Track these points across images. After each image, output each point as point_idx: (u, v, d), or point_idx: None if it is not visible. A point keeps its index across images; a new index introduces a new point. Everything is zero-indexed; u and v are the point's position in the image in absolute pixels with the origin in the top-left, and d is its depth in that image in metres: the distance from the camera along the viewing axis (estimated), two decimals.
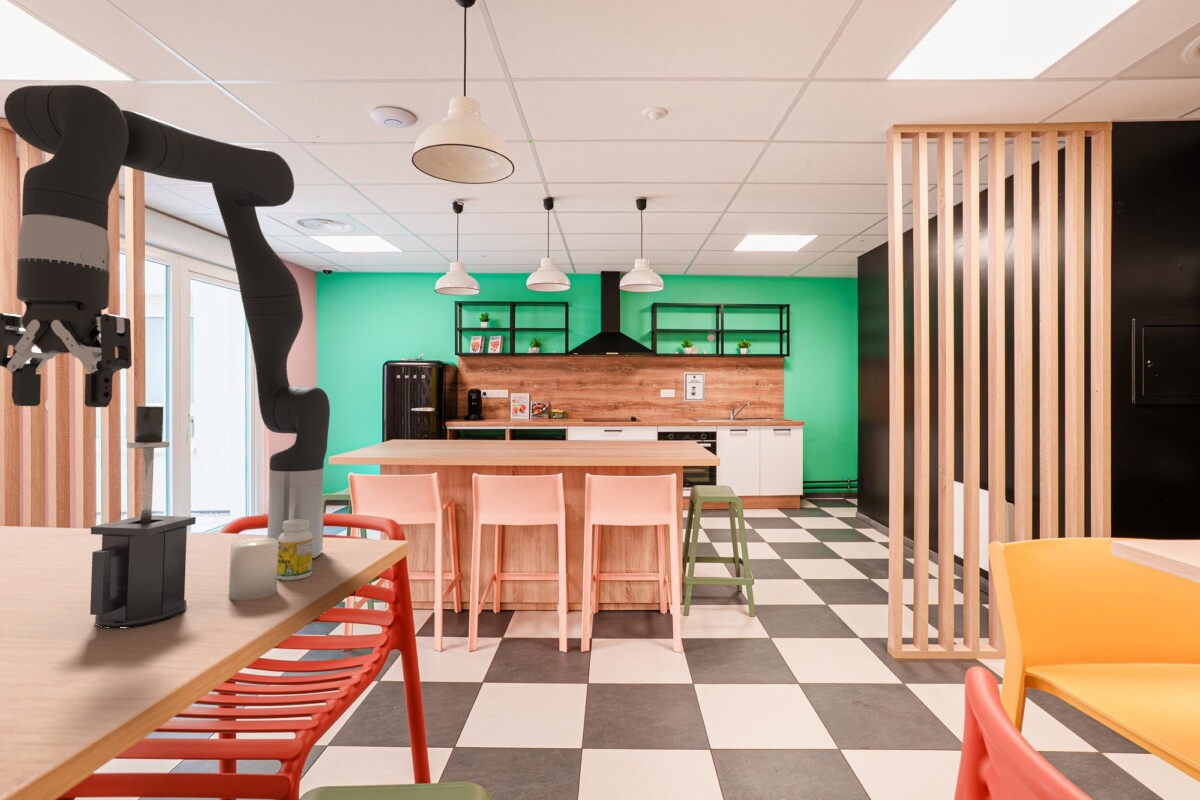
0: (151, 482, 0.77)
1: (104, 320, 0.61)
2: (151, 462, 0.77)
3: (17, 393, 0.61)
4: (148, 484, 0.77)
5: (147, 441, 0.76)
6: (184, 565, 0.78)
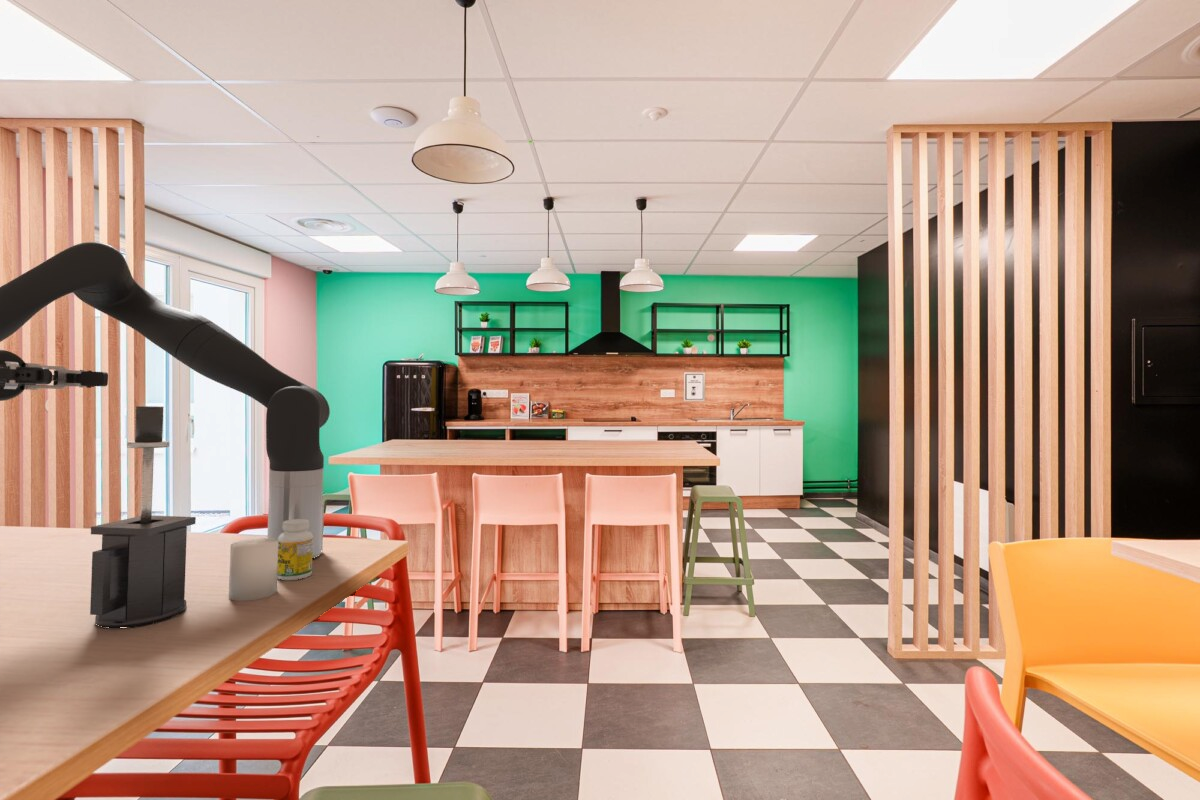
0: (151, 482, 0.77)
1: None
2: (151, 462, 0.77)
3: (96, 385, 0.84)
4: (148, 484, 0.77)
5: (147, 441, 0.76)
6: (184, 565, 0.78)
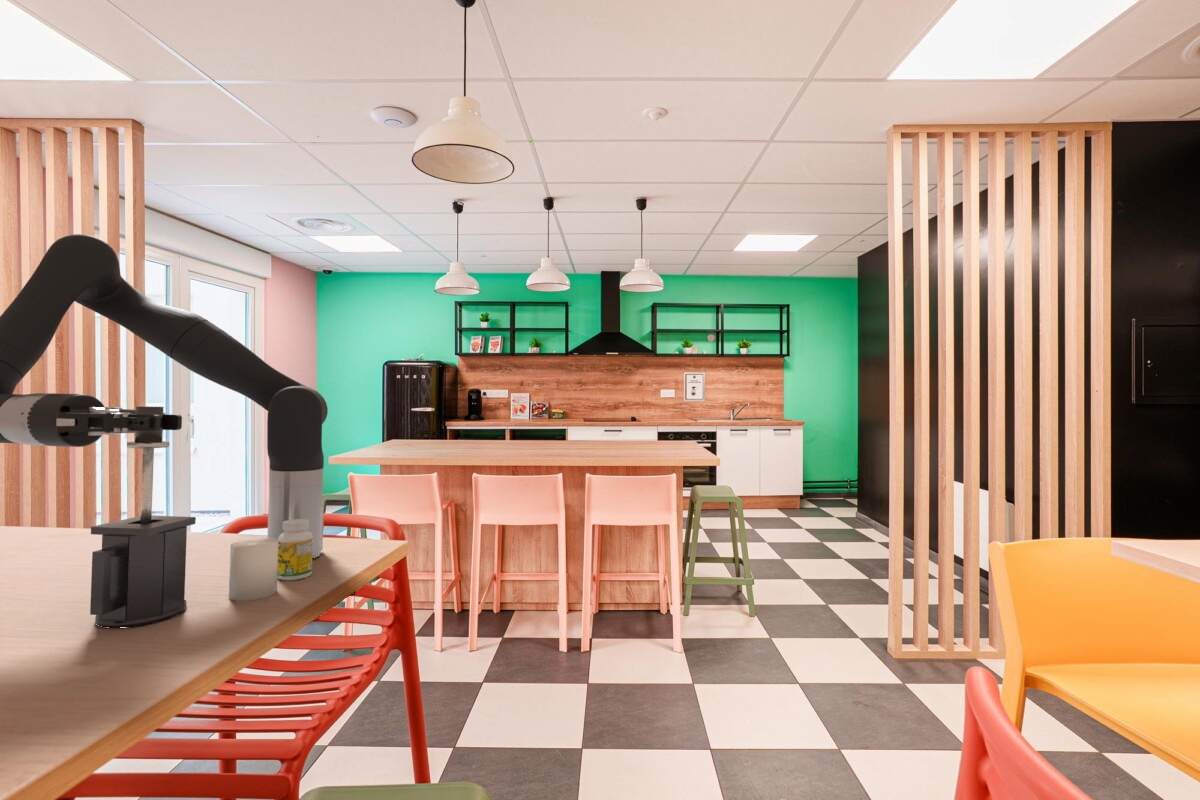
0: (151, 482, 0.77)
1: (63, 432, 0.72)
2: (151, 462, 0.77)
3: (169, 429, 0.79)
4: (148, 484, 0.77)
5: (147, 441, 0.76)
6: (184, 565, 0.78)
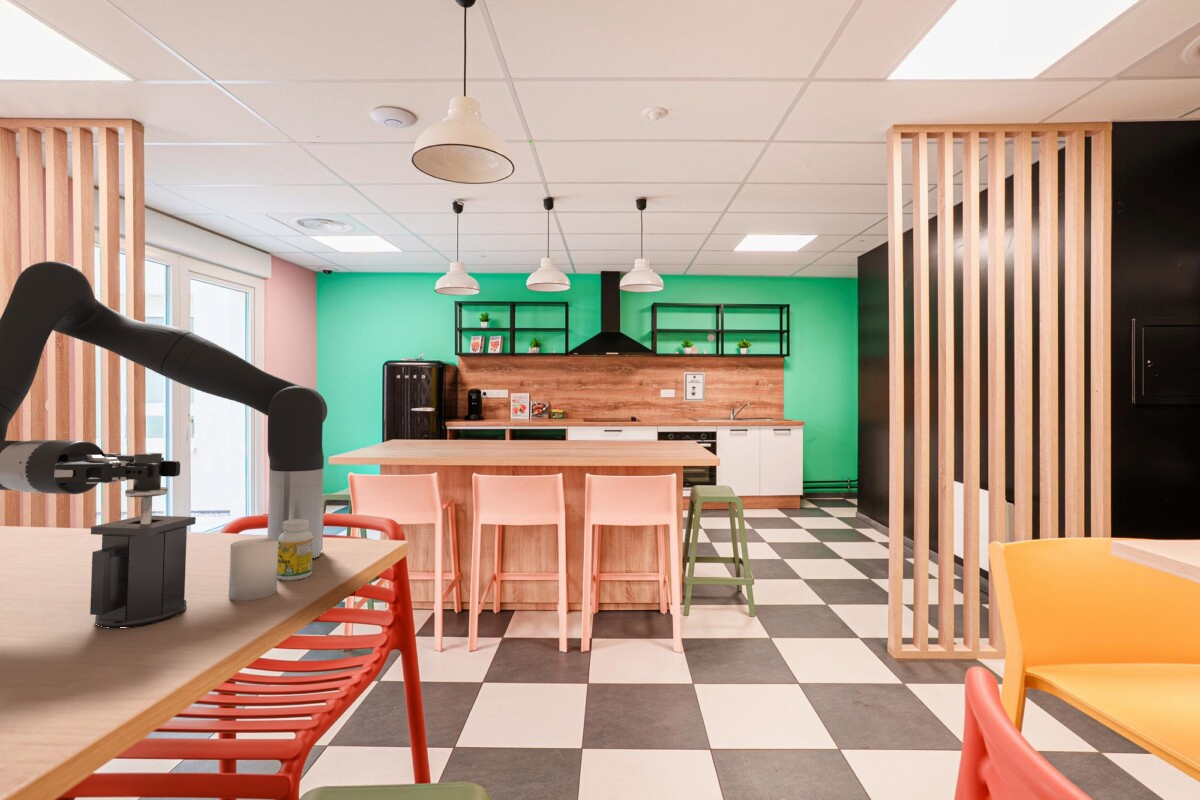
0: None
1: (62, 483, 0.72)
2: (149, 510, 0.77)
3: None
4: None
5: (145, 489, 0.76)
6: (184, 565, 0.78)
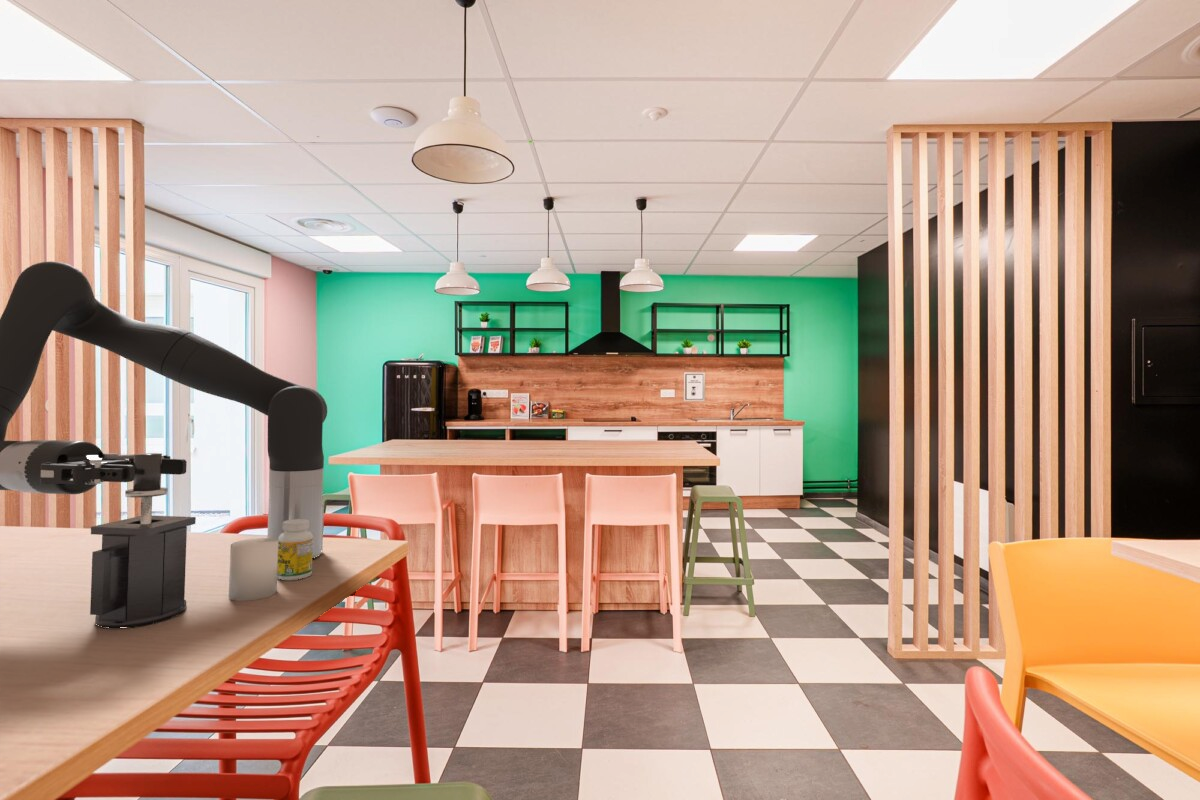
0: None
1: (47, 483, 0.71)
2: (149, 510, 0.77)
3: (174, 473, 0.81)
4: None
5: (145, 490, 0.76)
6: (184, 565, 0.78)
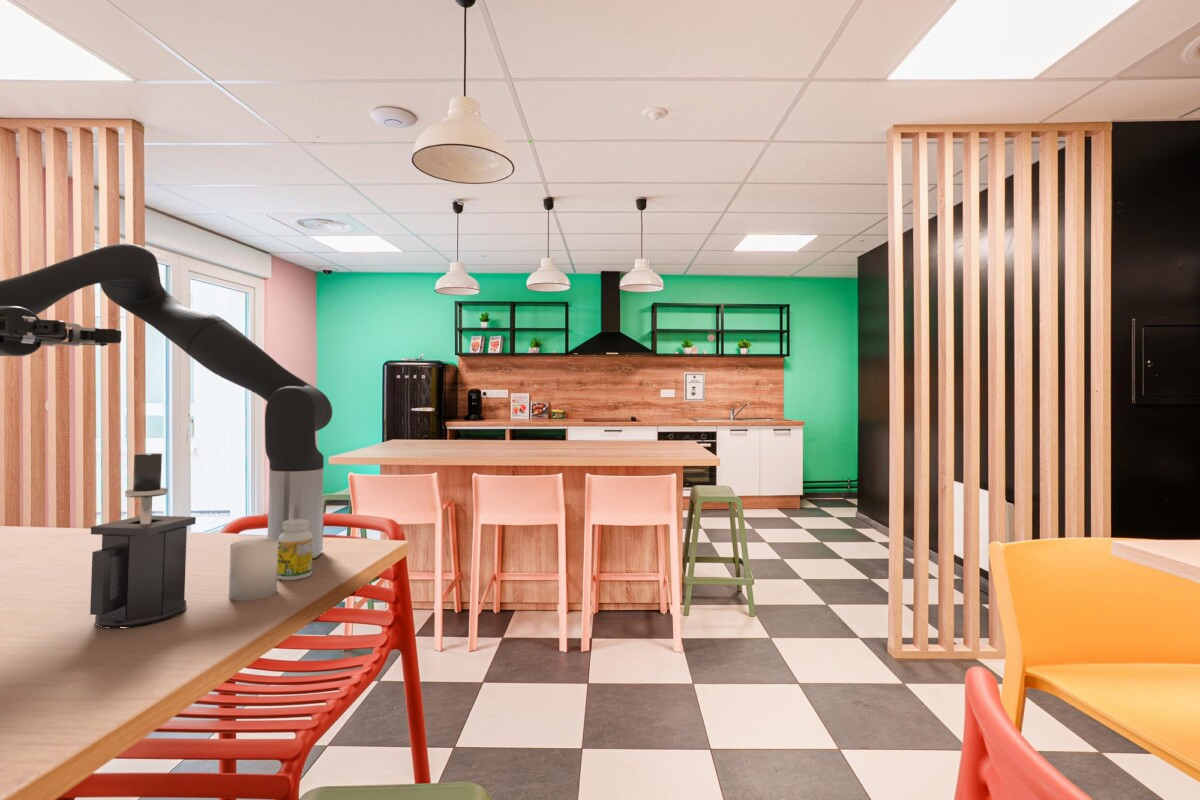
0: None
1: None
2: (149, 510, 0.77)
3: (109, 342, 0.86)
4: None
5: (145, 490, 0.76)
6: (184, 565, 0.78)
